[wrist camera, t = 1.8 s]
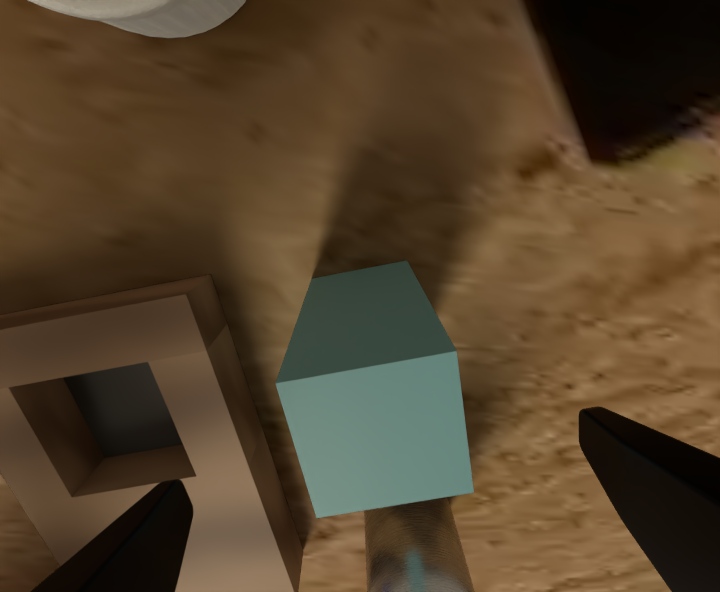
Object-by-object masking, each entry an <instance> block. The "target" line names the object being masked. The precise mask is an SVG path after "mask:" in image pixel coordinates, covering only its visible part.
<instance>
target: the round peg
mask: <svg viewBox="0 0 720 592" xmlns="http://www.w3.org/2000/svg"><path fill="white" fill-rule="evenodd" d="M364 516H365V544H366V573H367V592H475V591H474V588H473V584H472V581H471V577H470V574H469V570H468V567H467V563H466V560H465V556H464V553H463V549H462V546H461V542H460V539H459V535H458V532H457V528H456V524H455V521H454V517H453V514H452V510H451V507H450V503H449V500H448V497H443V498H437V499H431V500H425V501H419V502H413V503H406V504H400V505H394V506H388V507H382V508H376V509H369V510H364Z"/></svg>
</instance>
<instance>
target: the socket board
mask: <svg viewBox="0 0 720 592" xmlns="http://www.w3.org/2000/svg"><path fill="white" fill-rule="evenodd" d="M0 473H1V475H2V476H3V478H4V479H5V481H6V483H7V484H8V486H9V487H10V489H11V490H12V492H13V493H14V495H15V497H16V498H17V500H18V501H19V503H20V504H21V506H22V508H23V509H24V511H25V512H26V514H27V515H28V517H29V519H30V520H31V522H32V523H33V525H34V526H35V528H36V529H37V531H38V533H39V534H40V536H41V537H42V539H43V540H44V542H45V544H46V545H47V547H48V548H49V550H50V551H51V553H52V555H53V556H54V558H55V559H56V561H57V562H58V564H59V565H60V566H61V565H63V564H64V563H65V562H66V561H67V560H68V559H70V558H71V557H72V556H73V555H74V554H76V553H77V552H78V551H79V550H80V549H82V548H83V547H84V546H85V545H86V544H87V543H89V542H90V541H91V540H92V539H93V538H95V537H96V536H97V535H98V534H99V533H100V532H102V531H103V530H104V529H105V528H106V527H108V526H109V525H110V524H111V523H112V522H114V521H115V520H116V519H117V518H118V517H119V516H121V515H122V514H123V513H124V512H125V511H127V510H128V509H129V508H130V507H131V506H133V505H134V504H135V503H136V502H137V501H138V500H140V499H141V498H142V497H143V496H144V495H146V494H147V493H148V492H149V491H150V490H151V489H153V488H154V487H155V486H156V485H157V484H159V483H160V482H162V481H167V480H172V479H180V480H181V481H182V482H183V484H184V486H185V488H186V491H187V493H188V495H189V498H190V500H191V502H192V505H193V511H194V512H193V519H192V524H191V528H190V532H189V537H188V541H187V545H186V549H185V554H184V558H183V562H182V566H181V571H180V575H179V579H178V583H177V587H176V590H175V592H298V589H299V581H300V573H301V565H302V557H303V548H302V545H301V542H300V540H299V537H298V534H297V531H296V528H295V525H294V522H293V519H292V516H291V513H290V510H289V507H288V504H287V501H286V498H285V495H284V492H283V489H282V486H281V483H280V480H279V477H278V474H277V471H276V468H275V465H274V462H273V459H272V456H271V453H270V450H269V447H268V444H267V441H266V438H265V435H264V432H263V429H262V426H261V423H260V420H259V417H258V414H257V411H256V408H255V405H254V402H253V399H252V396H251V393H250V390H249V387H248V384H247V381H246V378H245V375H244V372H243V369H242V366H241V363H240V360H239V357H238V354H237V351H236V348H235V345H234V342H233V339H232V336H231V333H230V331H229V328H228V325H227V322H226V319H225V316H224V313H223V310H222V307H221V304H220V301H219V298H218V295H217V292H216V289H215V286H214V283H213V280H212V277H211V274H209V275H204V276H199V277H194V278H189V279H184V280H179V281H173V282H168V283H163V284H158V285H153V286H148V287H142V288H137V289H132V290H127V291H122V292H117V293H112V294H106V295H101V296H96V297H91V298H86V299H81V300H75V301H70V302H65V303H60V304H55V305H50V306H45V307H39V308H34V309H29V310H24V311H19V312H14V313H8V314H3V315H0Z"/></svg>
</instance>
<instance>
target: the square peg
mask: <svg viewBox="0 0 720 592" xmlns="http://www.w3.org/2000/svg"><path fill="white" fill-rule="evenodd" d="M275 384H276V387H277V390H278V394H279V397H280V400H281V403H282V407H283V410H284V413H285V416H286V420H287V423H288V426H289V430H290V433H291V436H292V439H293V443H294V446H295V449H296V452H297V456H298V459H299V462H300V465H301V469H302V472H303V475H304V479H305V482H306V485H307V488H308V492H309V495H310V498H311V501H312V505H313V508H314V511H315V514H316V518H320V517H326V516H332V515H339V514H345V513H351V512H357V511H363V510H369V509H376V508H382V507H388V506H394V505H400V504H406V503H413V502H419V501H425V500H431V499H437V498H443V497H449V496H456V495H462V494H468V493H474V490H473V482H472V474H471V465H470V457H469V449H468V441H467V433H466V424H465V416H464V408H463V400H462V392H461V383H460V375H459V367H458V359H457V351H456V349H455V347H454V345H453V344H452V342H451V340H450V338H449V336H448V335H447V333H446V331H445V329H444V327H443V325H442V324H441V322H440V320H439V318H438V316H437V314H436V313H435V311H434V309H433V307H432V305H431V304H430V302H429V300H428V298H427V296H426V294H425V293H424V291H423V289H422V287H421V285H420V283H419V282H418V280H417V278H416V276H415V274H414V273H413V271H412V269H411V267H410V265H409V263H408V262H407V261H401V262H396V263H391V264H386V265H380V266H375V267H370V268H365V269H360V270H354V271H349V272H344V273H339V274H333V275H328V276H323V277H318V278H312V279H311V282H310V285H309V288H308V291H307V294H306V297H305V299H304V302H303V305H302V308H301V311H300V314H299V317H298V320H297V323H296V325H295V328H294V331H293V334H292V337H291V340H290V343H289V346H288V349H287V351H286V354H285V357H284V360H283V363H282V366H281V369H280V372H279V375H278V378H277V380H276V383H275Z"/></svg>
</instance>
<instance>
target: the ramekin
mask: <svg viewBox="0 0 720 592" xmlns="http://www.w3.org/2000/svg"><path fill="white" fill-rule="evenodd" d="M28 1H30V2H33V3H35V4H37V5H40V6H42V7H44V8H47V9H50V10H53V11H56V12H59V13H63V14H66V15H70V16H74V17H79V18H83V19H88V20H98V21H102V22H104V23H107V24H110V25H112V26H115V27H118V28H120V29H123V30H126V31H129V32H134V33H139V34H142V35H145V36H150V37H162V38H176V37H188V36H192V35H195V34H199V33H203V32H206V31H208V30H210V29H212V28H215V27H216V26H218V25H220V24H221V23H223V22H224V21H225V20H227V19H229V18H230V17H231V16H233V15H234V14H235V13H236V12H237V11H238V10H239V8H240V7H241V6H243V4H244V3H245V2H246V0H28Z"/></svg>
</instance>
